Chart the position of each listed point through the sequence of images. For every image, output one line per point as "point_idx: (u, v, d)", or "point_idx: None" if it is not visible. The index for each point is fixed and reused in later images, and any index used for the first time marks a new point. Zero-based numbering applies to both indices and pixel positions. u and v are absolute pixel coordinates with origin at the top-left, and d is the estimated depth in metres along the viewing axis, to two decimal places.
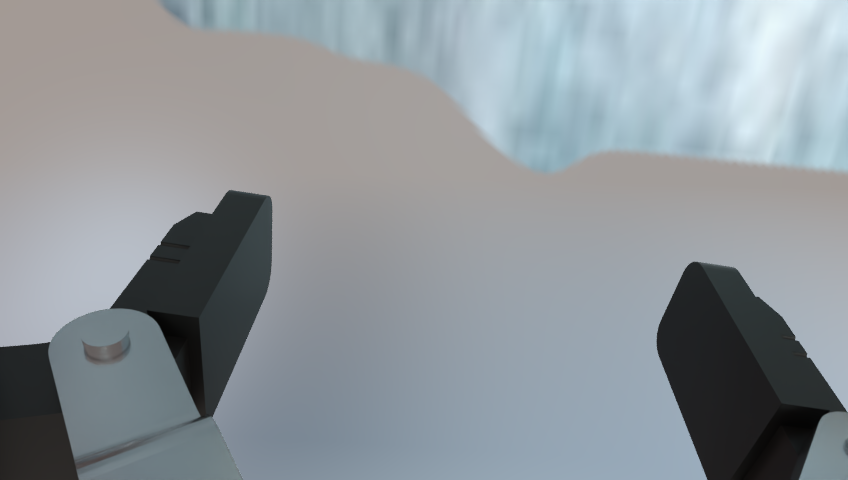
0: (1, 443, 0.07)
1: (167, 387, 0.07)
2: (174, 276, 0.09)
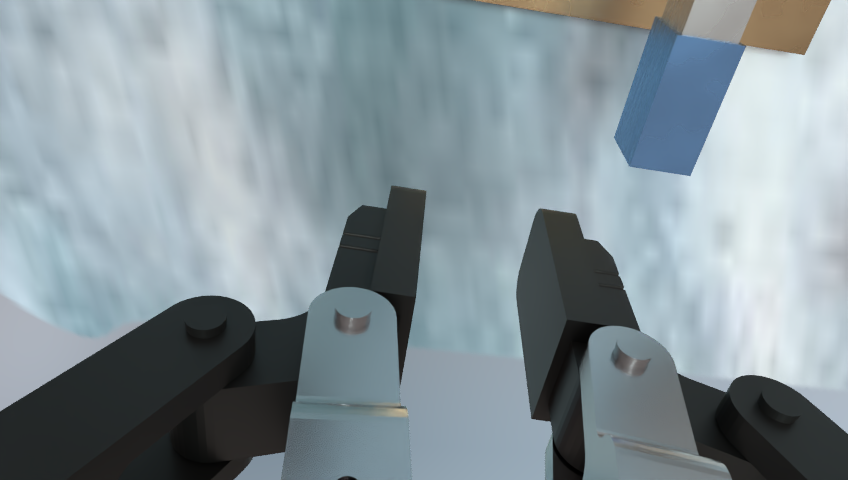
0: (272, 403, 0.08)
1: (383, 370, 0.07)
2: (379, 261, 0.10)
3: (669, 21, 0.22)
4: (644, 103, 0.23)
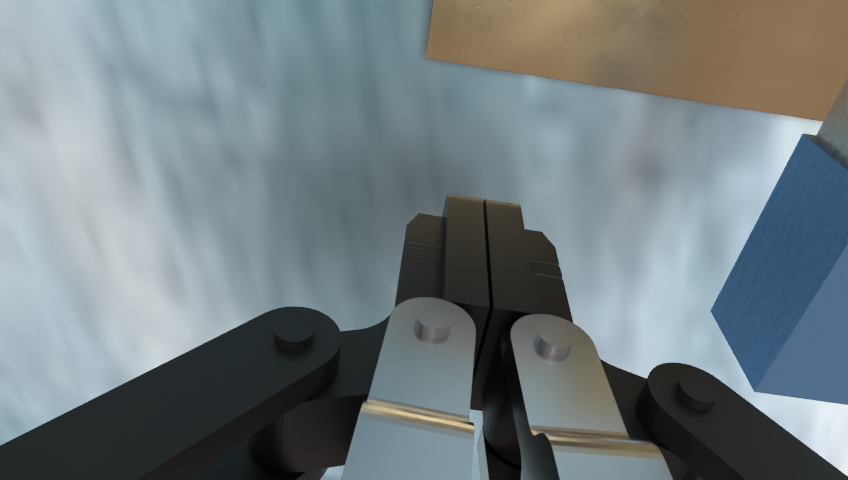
0: (357, 414, 0.08)
1: (456, 384, 0.07)
2: (448, 271, 0.10)
3: (839, 152, 0.12)
4: (786, 290, 0.13)
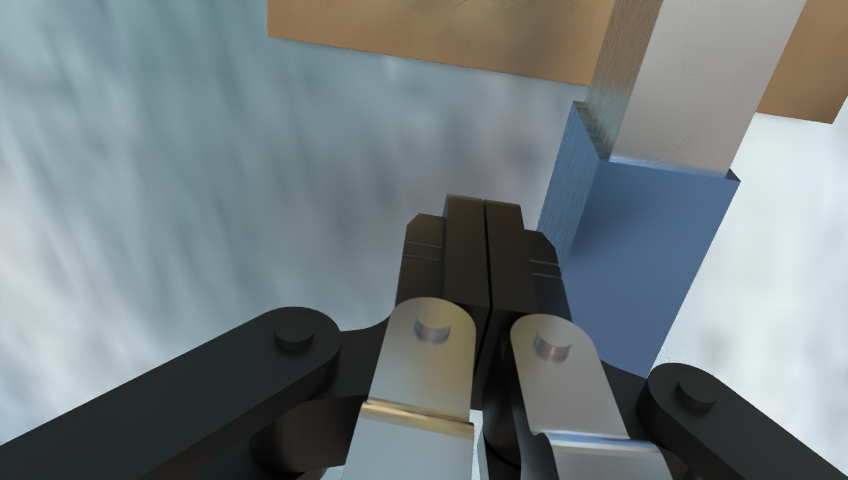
0: (357, 414, 0.08)
1: (456, 384, 0.07)
2: (448, 271, 0.10)
3: (593, 118, 0.12)
4: None
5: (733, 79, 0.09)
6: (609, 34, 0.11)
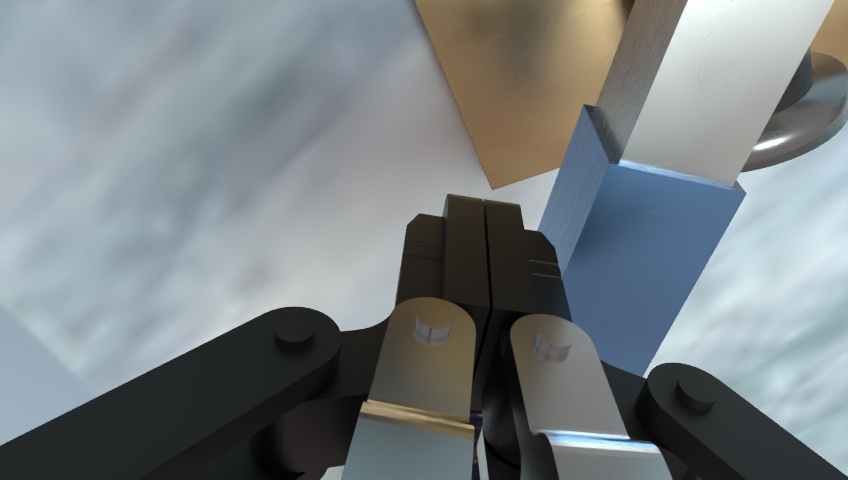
0: (357, 414, 0.08)
1: (456, 384, 0.07)
2: (448, 271, 0.10)
3: (604, 122, 0.12)
4: None
5: (747, 91, 0.10)
6: (625, 39, 0.11)
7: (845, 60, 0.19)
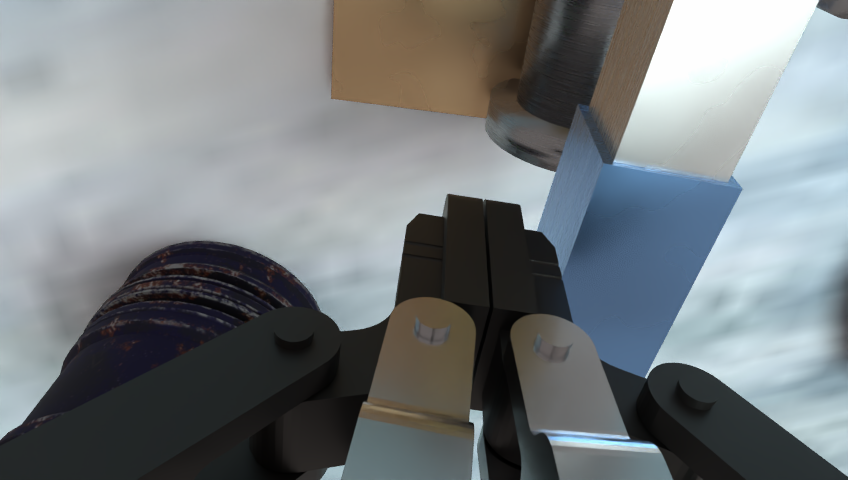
0: (357, 414, 0.08)
1: (456, 384, 0.07)
2: (448, 271, 0.10)
3: (598, 121, 0.12)
4: None
5: (738, 87, 0.09)
6: (616, 38, 0.11)
7: None
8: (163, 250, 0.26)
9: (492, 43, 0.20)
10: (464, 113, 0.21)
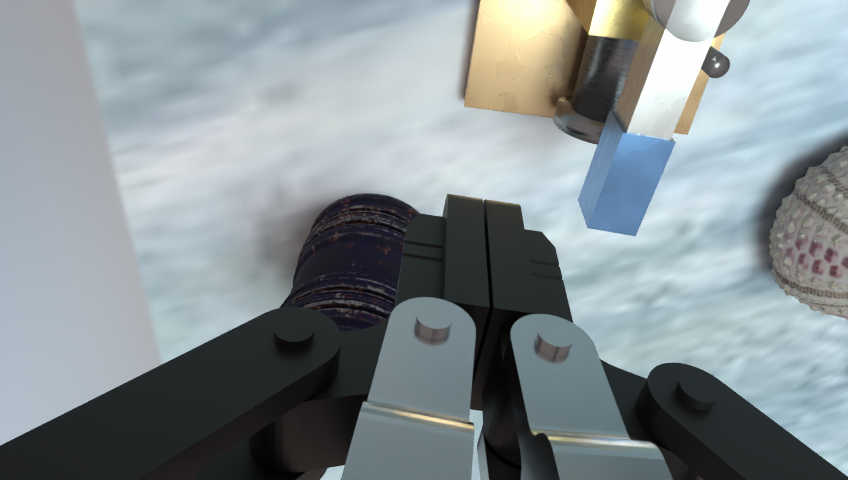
0: (357, 414, 0.08)
1: (456, 384, 0.07)
2: (448, 271, 0.10)
3: (619, 117, 0.28)
4: (599, 179, 0.29)
5: (672, 104, 0.26)
6: (626, 84, 0.28)
7: None
8: (344, 199, 0.43)
9: (556, 76, 0.36)
10: (538, 114, 0.38)
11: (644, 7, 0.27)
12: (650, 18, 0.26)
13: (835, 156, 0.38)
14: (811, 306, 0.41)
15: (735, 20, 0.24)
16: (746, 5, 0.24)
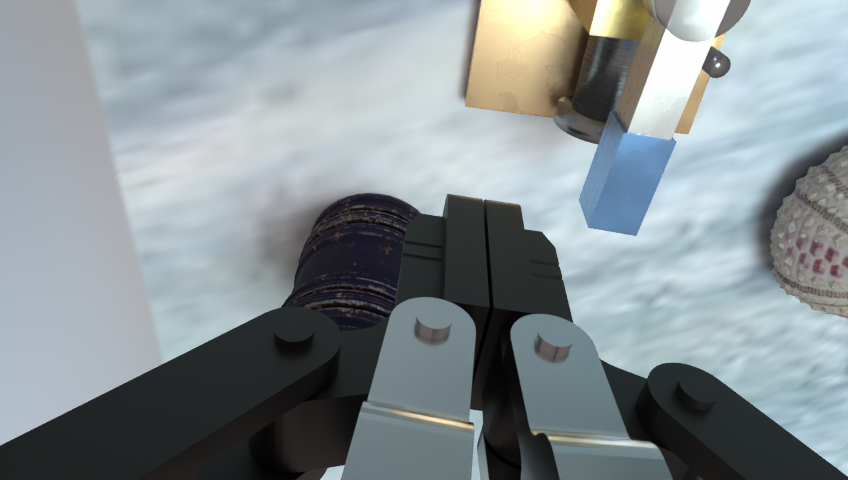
0: (357, 414, 0.08)
1: (456, 384, 0.07)
2: (448, 271, 0.10)
3: (620, 117, 0.28)
4: (600, 179, 0.29)
5: (672, 104, 0.26)
6: (627, 84, 0.28)
7: None
8: (345, 199, 0.43)
9: (557, 76, 0.36)
10: (539, 114, 0.38)
11: (645, 7, 0.27)
12: (651, 18, 0.27)
13: (836, 156, 0.38)
14: (812, 306, 0.41)
15: (736, 20, 0.24)
16: (747, 5, 0.24)
